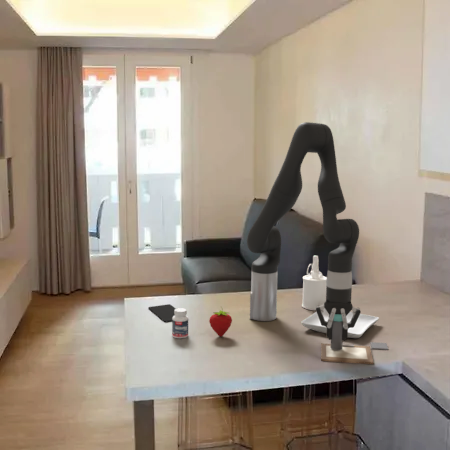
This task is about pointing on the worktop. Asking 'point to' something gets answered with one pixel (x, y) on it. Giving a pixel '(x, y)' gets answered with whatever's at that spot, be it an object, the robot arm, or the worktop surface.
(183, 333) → the pill bottle
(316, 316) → the salad plate
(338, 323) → the marker
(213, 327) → the strawberry
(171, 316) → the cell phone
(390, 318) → the worktop surface
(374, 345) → the coaster
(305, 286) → the white nozzle bottle
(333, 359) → the clipboard
